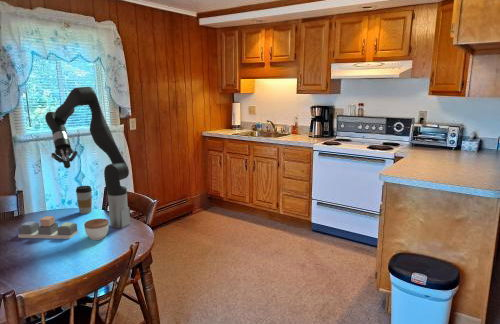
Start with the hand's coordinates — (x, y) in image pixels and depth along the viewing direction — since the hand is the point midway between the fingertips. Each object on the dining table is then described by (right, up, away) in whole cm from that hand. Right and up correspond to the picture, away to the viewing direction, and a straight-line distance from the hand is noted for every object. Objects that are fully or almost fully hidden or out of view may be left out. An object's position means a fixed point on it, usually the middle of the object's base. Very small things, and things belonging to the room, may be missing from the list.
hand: (67, 167), depth 184 cm
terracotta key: (-3, -28, -13) cm, 31 cm away
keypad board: (-3, -33, -12) cm, 35 cm away
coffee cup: (0, -26, +21) cm, 34 cm away
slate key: (-12, -30, -12) cm, 35 cm away
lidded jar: (+22, -34, -14) cm, 43 cm away
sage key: (+6, -31, -13) cm, 34 cm away
